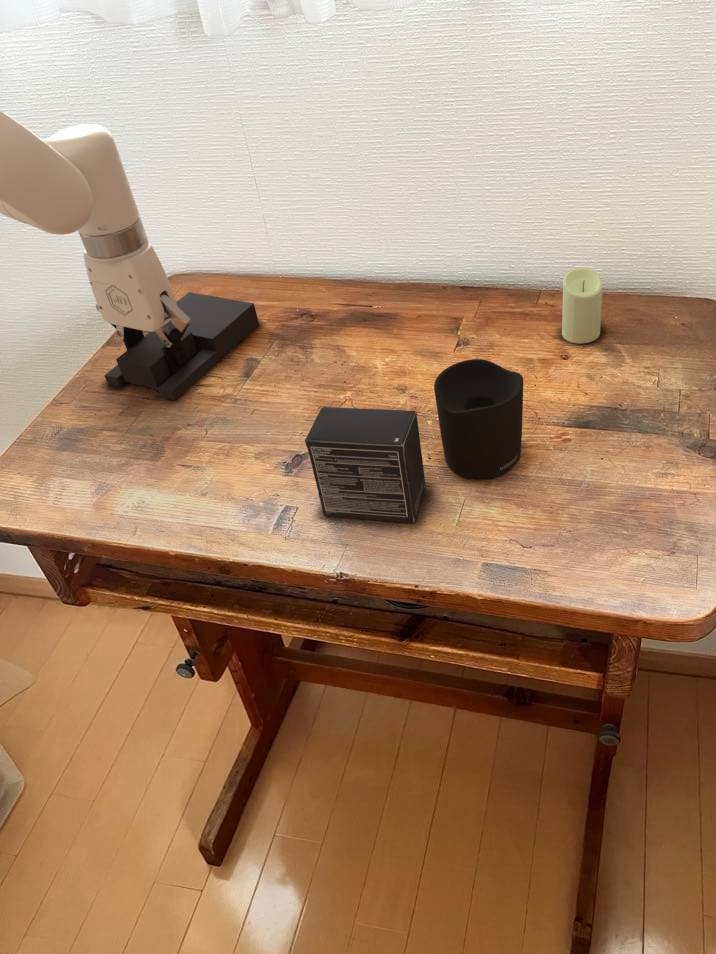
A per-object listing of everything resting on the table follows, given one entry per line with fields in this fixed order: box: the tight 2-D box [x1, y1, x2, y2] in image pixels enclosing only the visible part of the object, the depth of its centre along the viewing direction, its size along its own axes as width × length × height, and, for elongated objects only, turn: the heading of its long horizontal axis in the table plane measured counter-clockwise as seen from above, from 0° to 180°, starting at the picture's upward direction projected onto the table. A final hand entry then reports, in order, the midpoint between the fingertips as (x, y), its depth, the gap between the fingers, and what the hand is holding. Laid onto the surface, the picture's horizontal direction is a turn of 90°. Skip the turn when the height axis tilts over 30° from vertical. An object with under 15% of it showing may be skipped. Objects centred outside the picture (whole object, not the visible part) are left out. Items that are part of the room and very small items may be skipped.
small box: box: [304, 406, 427, 524], centre depth 88 cm, size 11×6×10 cm, turn 77°
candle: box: [561, 267, 604, 345], centre depth 108 cm, size 5×5×8 cm
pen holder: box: [433, 358, 524, 480], centre depth 91 cm, size 9×9×10 cm
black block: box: [115, 327, 198, 390], centre depth 114 cm, size 9×6×4 cm, turn 153°
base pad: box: [103, 291, 260, 401], centre depth 117 cm, size 20×12×4 cm, turn 153°
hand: (160, 362), depth 114 cm, fingers closed on black block, 6 cm apart
